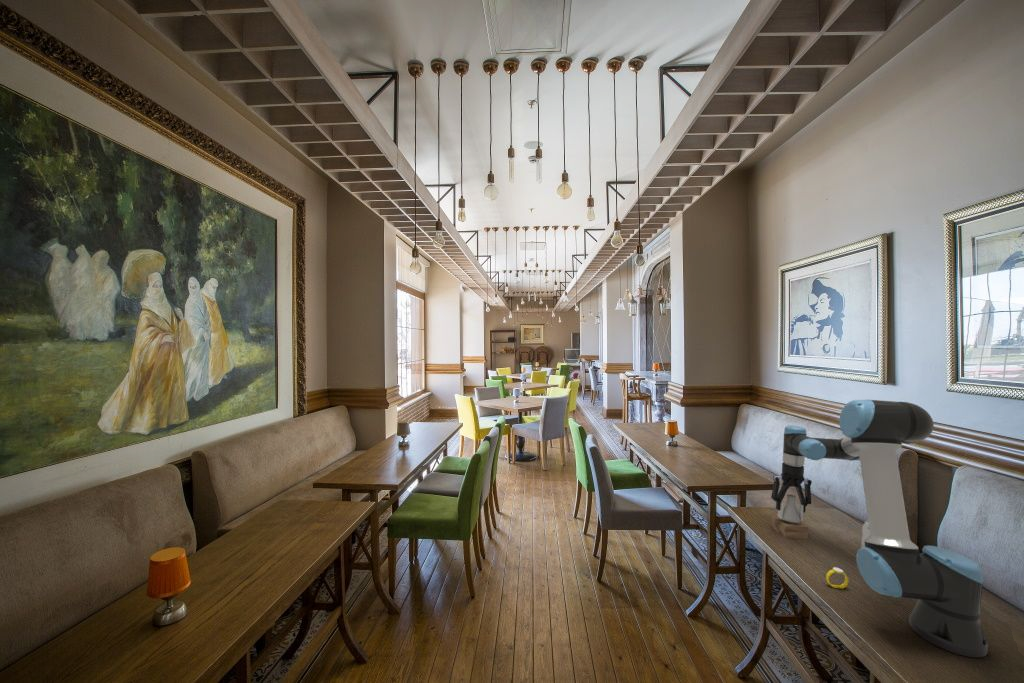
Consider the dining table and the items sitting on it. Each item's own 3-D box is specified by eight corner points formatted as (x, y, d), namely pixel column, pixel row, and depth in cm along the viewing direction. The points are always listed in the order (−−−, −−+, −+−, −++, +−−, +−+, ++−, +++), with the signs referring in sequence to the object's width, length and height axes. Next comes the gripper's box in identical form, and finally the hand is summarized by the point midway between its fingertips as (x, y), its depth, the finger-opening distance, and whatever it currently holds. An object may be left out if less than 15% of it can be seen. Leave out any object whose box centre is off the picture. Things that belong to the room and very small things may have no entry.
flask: (780, 520, 174) (781, 496, 174) (778, 514, 181) (780, 491, 180) (801, 525, 171) (803, 500, 170) (799, 518, 177) (800, 494, 177)
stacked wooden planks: (807, 539, 172) (808, 527, 171) (784, 538, 172) (785, 526, 171) (792, 528, 181) (793, 516, 180) (771, 527, 181) (772, 516, 180)
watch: (843, 586, 140) (846, 569, 140) (848, 591, 137) (851, 573, 137) (823, 582, 141) (826, 565, 141) (828, 587, 138) (830, 570, 138)
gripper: (814, 463, 177) (811, 517, 178) (763, 458, 180) (760, 512, 181) (824, 468, 170) (821, 525, 170) (771, 464, 173) (767, 520, 174)
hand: (789, 518), depth 176 cm, fingers closed on flask, 7 cm apart
